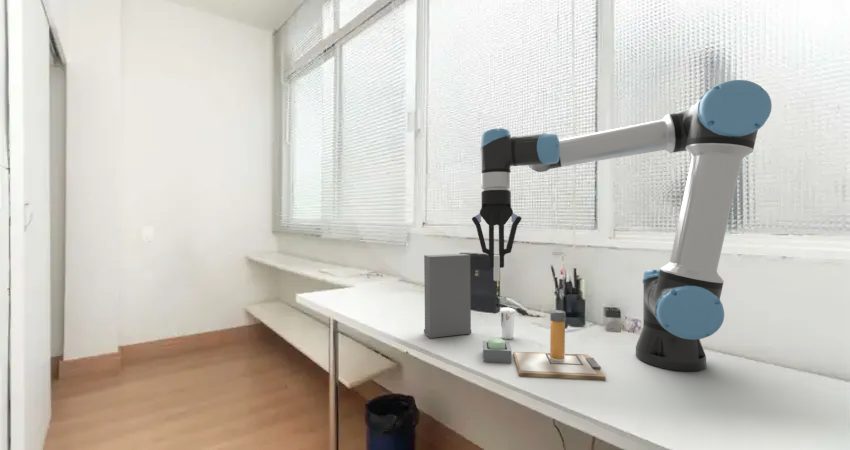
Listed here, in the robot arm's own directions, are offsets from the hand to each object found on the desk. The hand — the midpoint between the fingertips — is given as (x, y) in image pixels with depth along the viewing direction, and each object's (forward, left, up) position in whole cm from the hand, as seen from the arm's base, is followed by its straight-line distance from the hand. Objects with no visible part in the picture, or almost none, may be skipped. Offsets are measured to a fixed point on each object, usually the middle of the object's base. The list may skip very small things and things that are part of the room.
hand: (496, 280), depth 100 cm
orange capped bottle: (-15, +2, -19) cm, 24 cm away
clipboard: (-14, +4, -20) cm, 25 cm away
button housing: (0, 0, -20) cm, 20 cm away
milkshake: (-4, -17, -21) cm, 27 cm away
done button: (0, 0, -20) cm, 20 cm away
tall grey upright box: (+15, -19, -21) cm, 32 cm away
